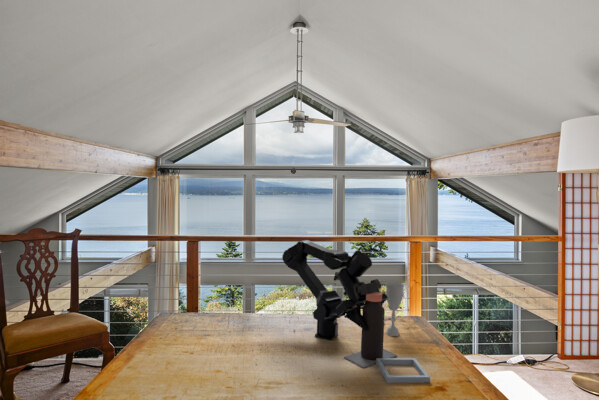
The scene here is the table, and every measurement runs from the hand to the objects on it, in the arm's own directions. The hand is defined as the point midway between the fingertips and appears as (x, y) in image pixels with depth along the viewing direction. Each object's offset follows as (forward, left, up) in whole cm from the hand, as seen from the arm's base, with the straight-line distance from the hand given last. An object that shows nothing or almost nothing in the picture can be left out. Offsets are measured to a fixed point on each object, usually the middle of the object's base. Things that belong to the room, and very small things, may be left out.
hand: (375, 328), depth 130 cm
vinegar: (-1, +1, -9) cm, 9 cm away
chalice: (0, +24, -10) cm, 26 cm away
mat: (-1, +1, -10) cm, 10 cm away
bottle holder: (+9, -5, -10) cm, 14 cm away
